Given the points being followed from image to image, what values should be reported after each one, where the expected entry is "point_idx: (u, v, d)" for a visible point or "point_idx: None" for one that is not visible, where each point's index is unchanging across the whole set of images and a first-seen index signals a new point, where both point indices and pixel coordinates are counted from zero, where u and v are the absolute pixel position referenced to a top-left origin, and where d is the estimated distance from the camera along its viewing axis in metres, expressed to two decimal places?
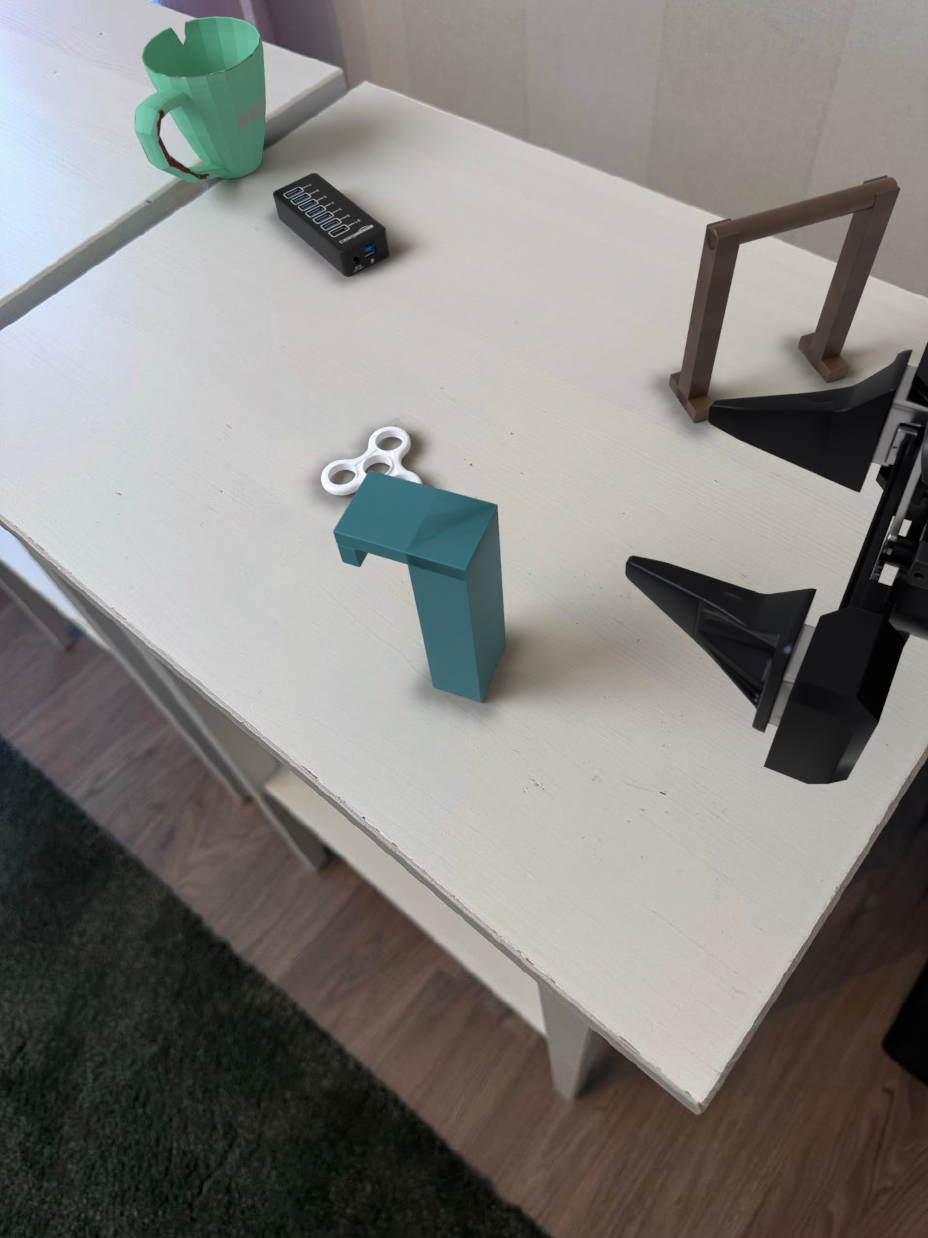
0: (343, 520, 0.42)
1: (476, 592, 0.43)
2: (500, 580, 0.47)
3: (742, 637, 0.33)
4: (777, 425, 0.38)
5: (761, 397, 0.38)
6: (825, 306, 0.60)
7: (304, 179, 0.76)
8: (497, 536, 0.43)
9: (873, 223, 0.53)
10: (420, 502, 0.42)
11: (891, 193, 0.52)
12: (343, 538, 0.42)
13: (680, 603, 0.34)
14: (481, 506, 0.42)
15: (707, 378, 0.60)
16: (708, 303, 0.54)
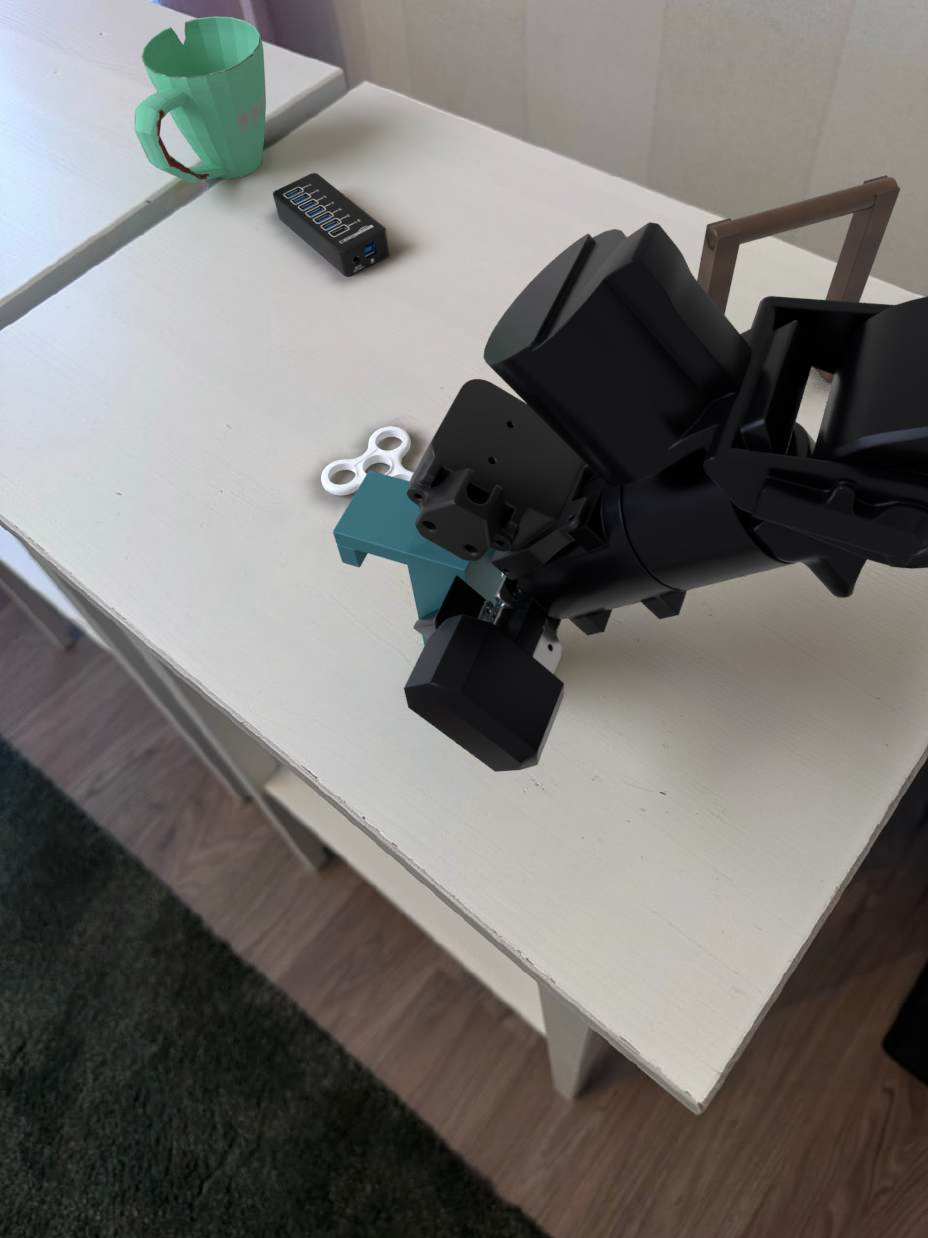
0: (343, 520, 0.42)
1: None
2: (500, 580, 0.47)
3: None
4: None
5: None
6: None
7: (304, 179, 0.76)
8: None
9: (873, 223, 0.53)
10: None
11: (891, 193, 0.52)
12: (343, 538, 0.42)
13: None
14: None
15: None
16: None
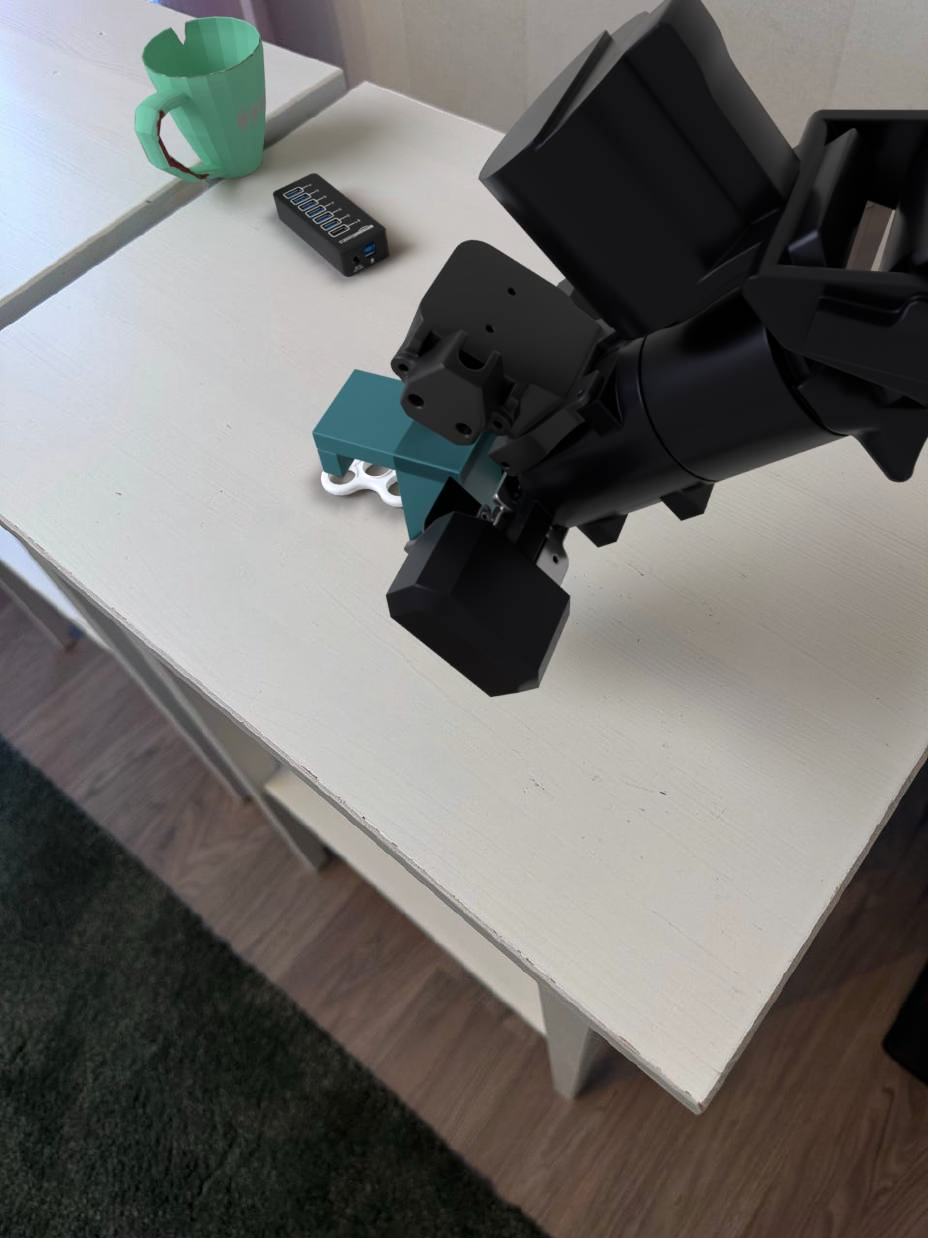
0: (324, 420, 0.37)
1: None
2: None
3: None
4: None
5: None
6: None
7: (304, 179, 0.76)
8: None
9: (873, 223, 0.53)
10: None
11: None
12: (323, 440, 0.37)
13: None
14: None
15: None
16: None
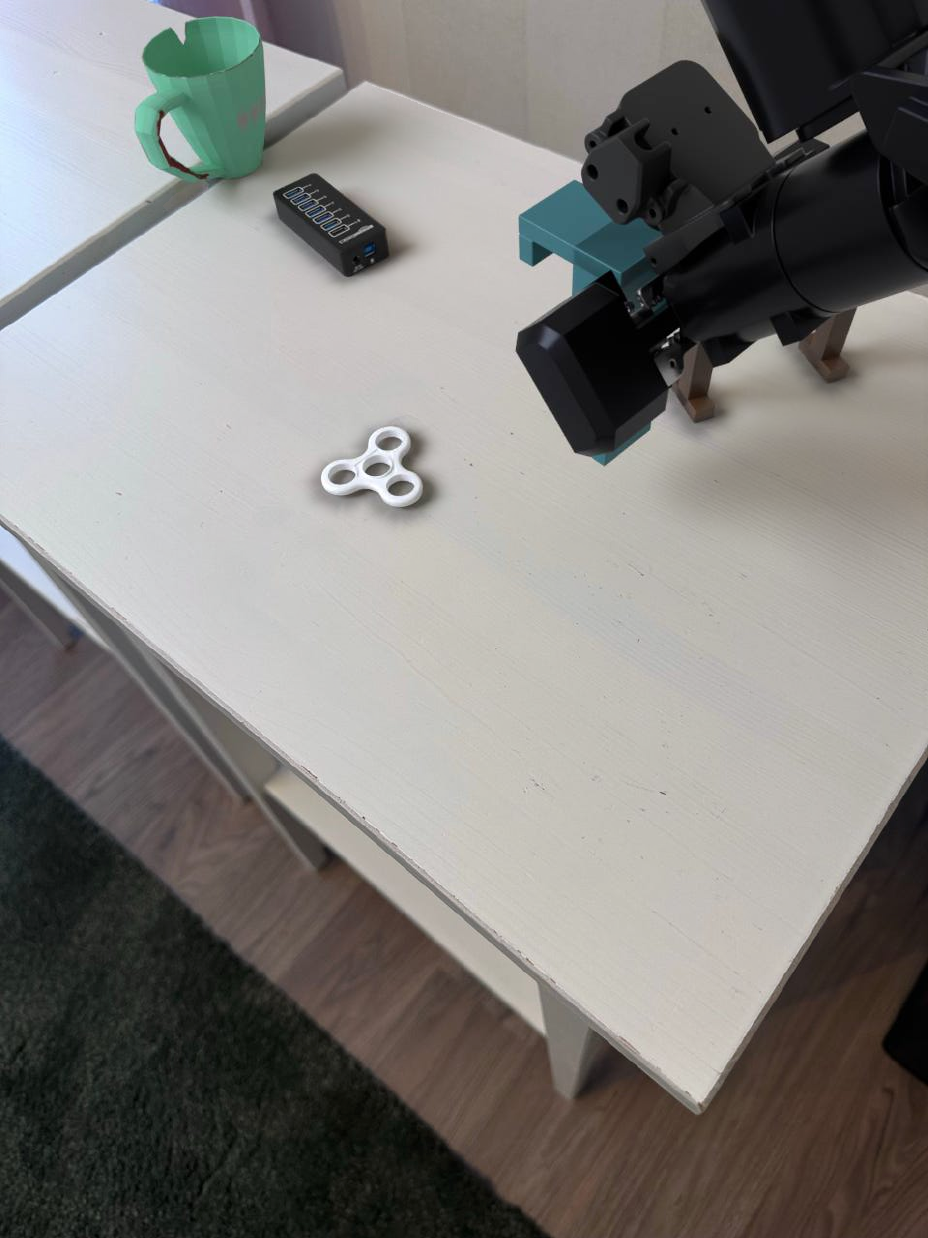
0: (531, 209, 0.44)
1: None
2: None
3: None
4: None
5: None
6: None
7: (304, 179, 0.76)
8: None
9: None
10: None
11: None
12: (525, 225, 0.44)
13: None
14: None
15: (707, 378, 0.60)
16: None
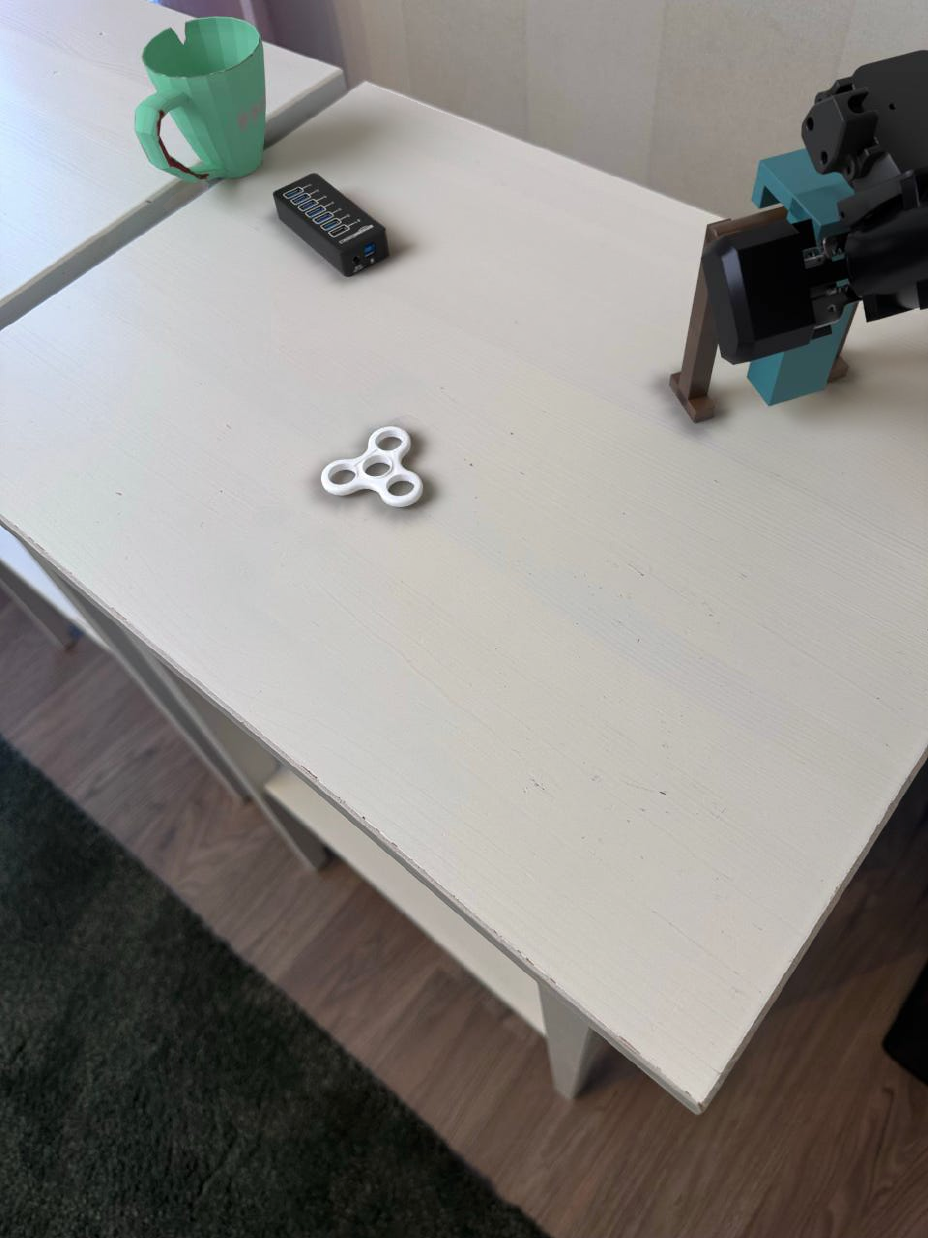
0: (772, 158, 0.51)
1: None
2: None
3: None
4: None
5: None
6: None
7: (303, 179, 0.76)
8: None
9: None
10: (835, 177, 0.50)
11: None
12: (762, 170, 0.51)
13: None
14: None
15: (707, 378, 0.60)
16: (708, 303, 0.54)
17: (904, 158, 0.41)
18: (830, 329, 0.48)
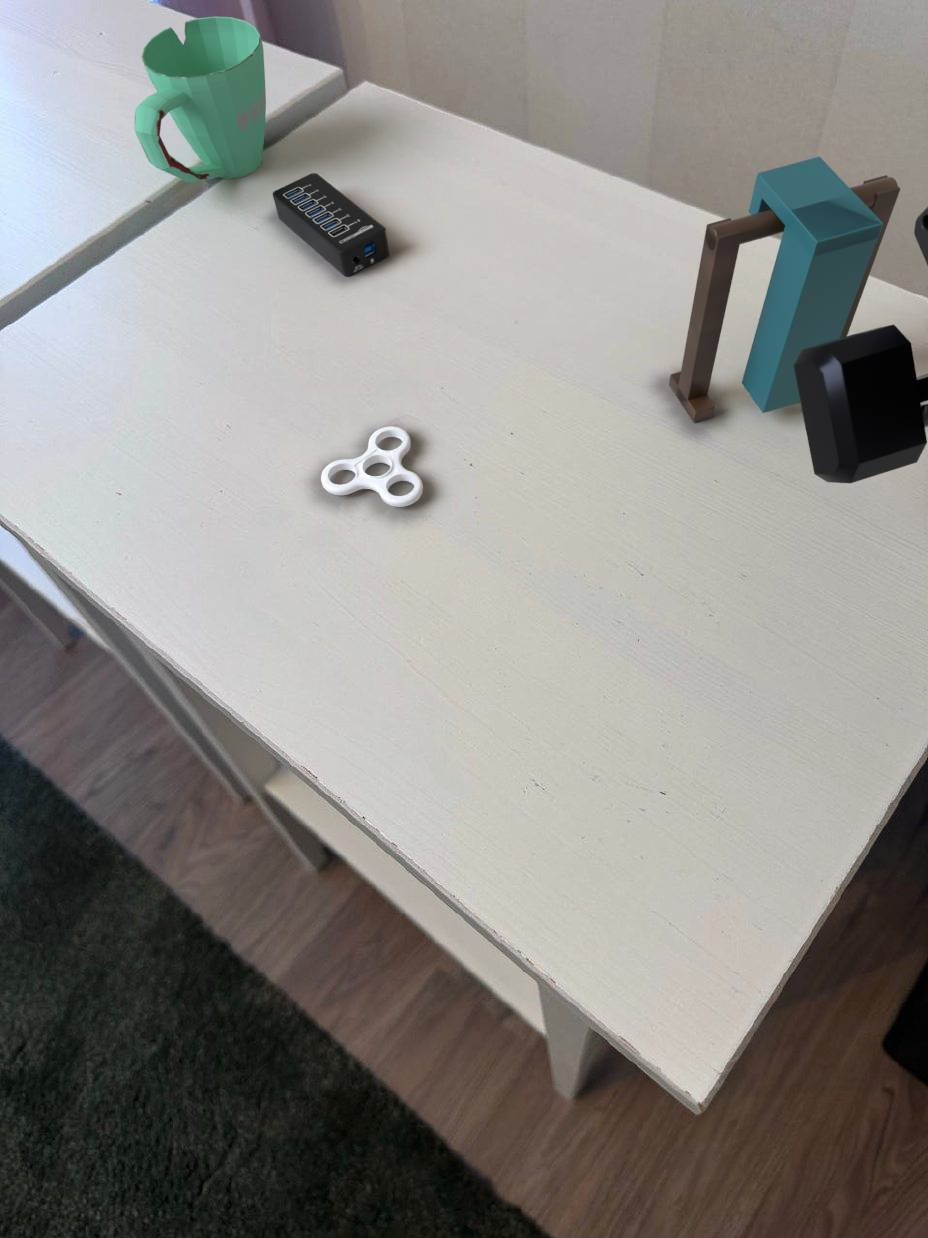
0: (770, 171, 0.51)
1: (815, 283, 0.51)
2: (846, 312, 0.54)
3: None
4: None
5: None
6: None
7: (303, 179, 0.76)
8: (866, 258, 0.50)
9: None
10: (832, 192, 0.50)
11: (891, 193, 0.52)
12: (760, 183, 0.52)
13: None
14: (870, 218, 0.49)
15: (707, 378, 0.60)
16: (708, 303, 0.54)
17: None
18: None
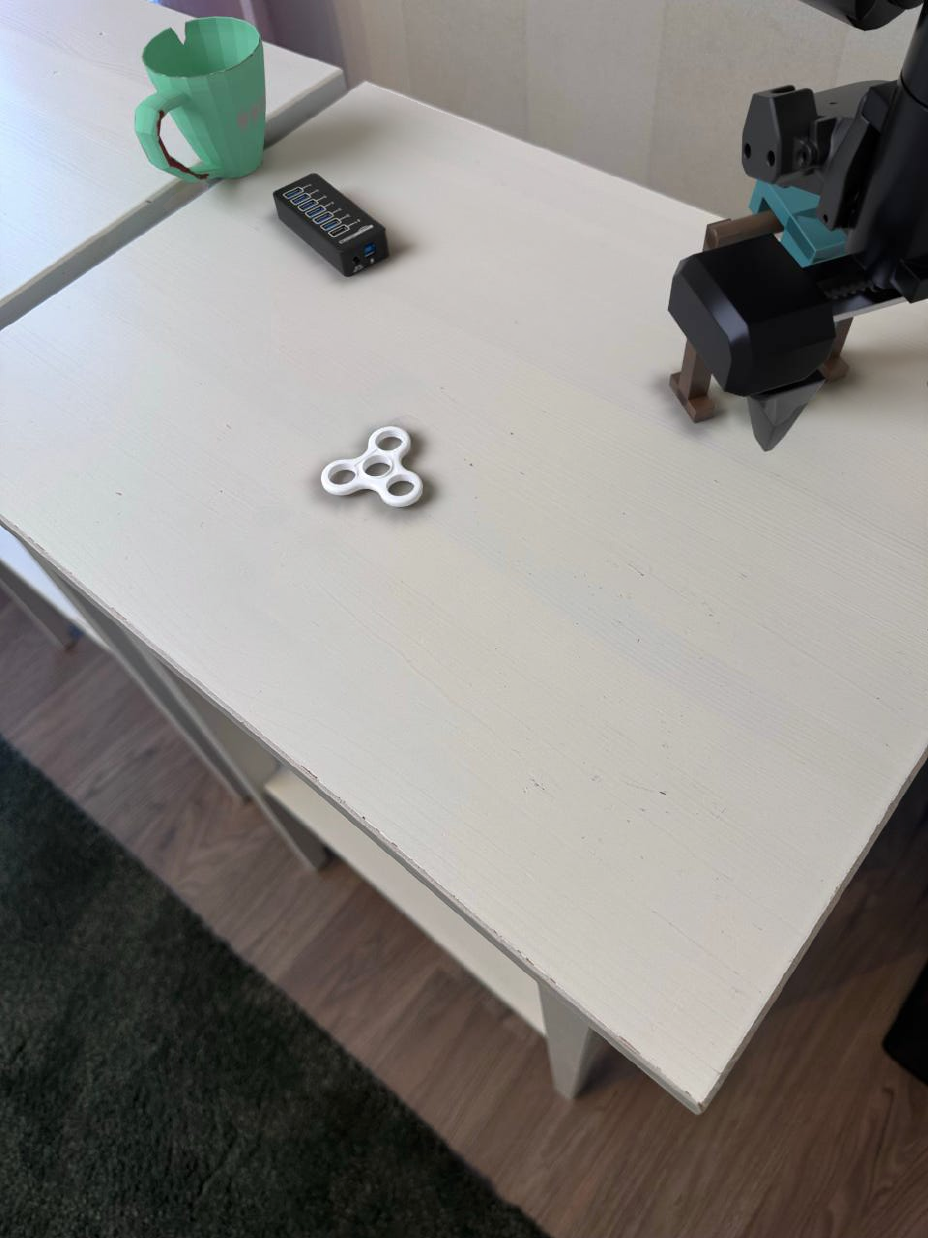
0: None
1: None
2: None
3: None
4: None
5: None
6: None
7: (303, 179, 0.76)
8: None
9: None
10: None
11: None
12: (761, 181, 0.51)
13: (755, 409, 0.40)
14: None
15: (707, 378, 0.60)
16: None
17: None
18: (821, 374, 0.35)
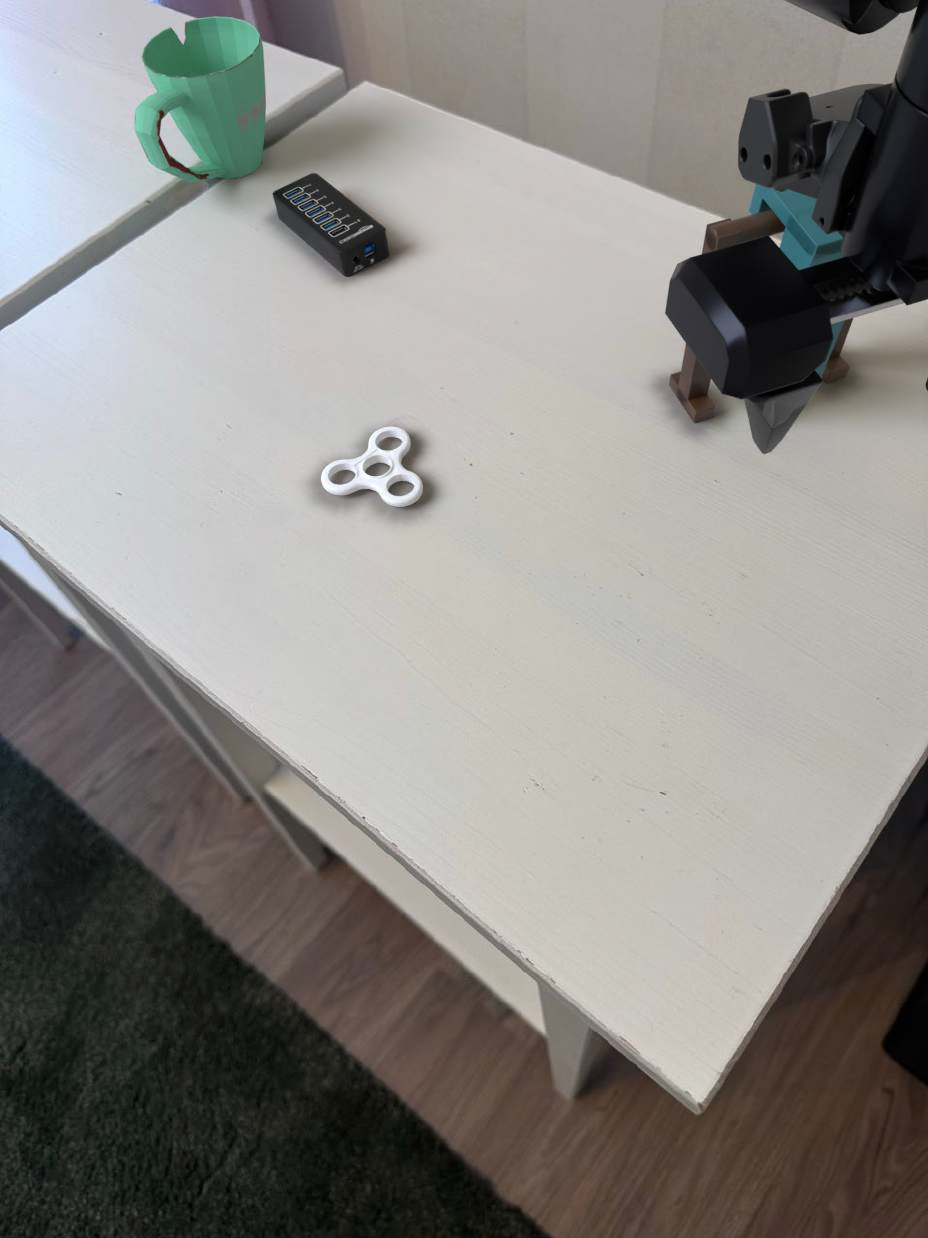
0: None
1: None
2: None
3: None
4: None
5: None
6: None
7: (303, 179, 0.76)
8: None
9: None
10: None
11: None
12: None
13: (753, 411, 0.40)
14: None
15: (707, 378, 0.60)
16: None
17: None
18: (818, 376, 0.35)
